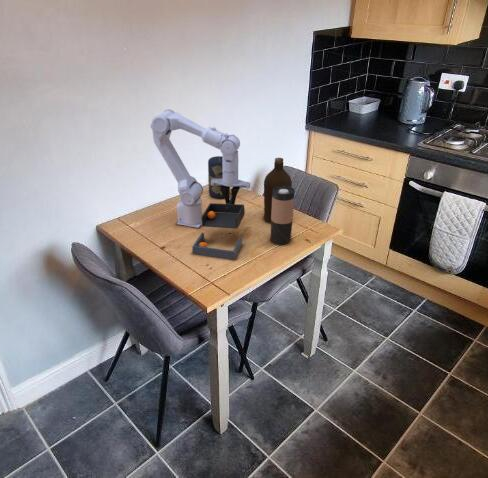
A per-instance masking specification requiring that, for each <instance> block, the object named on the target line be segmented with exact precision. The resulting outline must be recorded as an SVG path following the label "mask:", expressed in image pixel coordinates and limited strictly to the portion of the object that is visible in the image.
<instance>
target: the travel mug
mask: <svg viewBox="0 0 488 478" xmlns="http://www.w3.org/2000/svg"><path fill="white" fill-rule="evenodd" d="M295 191H296V190H295V188H294V187H289V186H283V187H274V188H273V195H272V211H271V223H270V241H271V243H272V244H274V245H279V246H285V245H288V244H290V243H291V239H292V230H293V220H294V208H295V206H294V205H295Z"/></svg>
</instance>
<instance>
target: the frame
mask: <svg viewBox="0 0 488 478" xmlns="http://www.w3.org/2000/svg"><path fill="white" fill-rule="evenodd" d="M201 242H205V232H201V233H200V235H199V236H198V238H197V239H196V240H195V242H194V243H193V245H192V254H193V255H199V256H205V257H211V258H218V259H227V260H233V261H235V260H236V258H237V256H238V254H239V253H240V250H241V248H242V246H243V237H239V239H238V240H237V242H236V245H235V246H234V248H233V250H229V249H223V248H222V249H221V248H214V247H208V246H207V247H201V246H199V244H200V243H201Z"/></svg>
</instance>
